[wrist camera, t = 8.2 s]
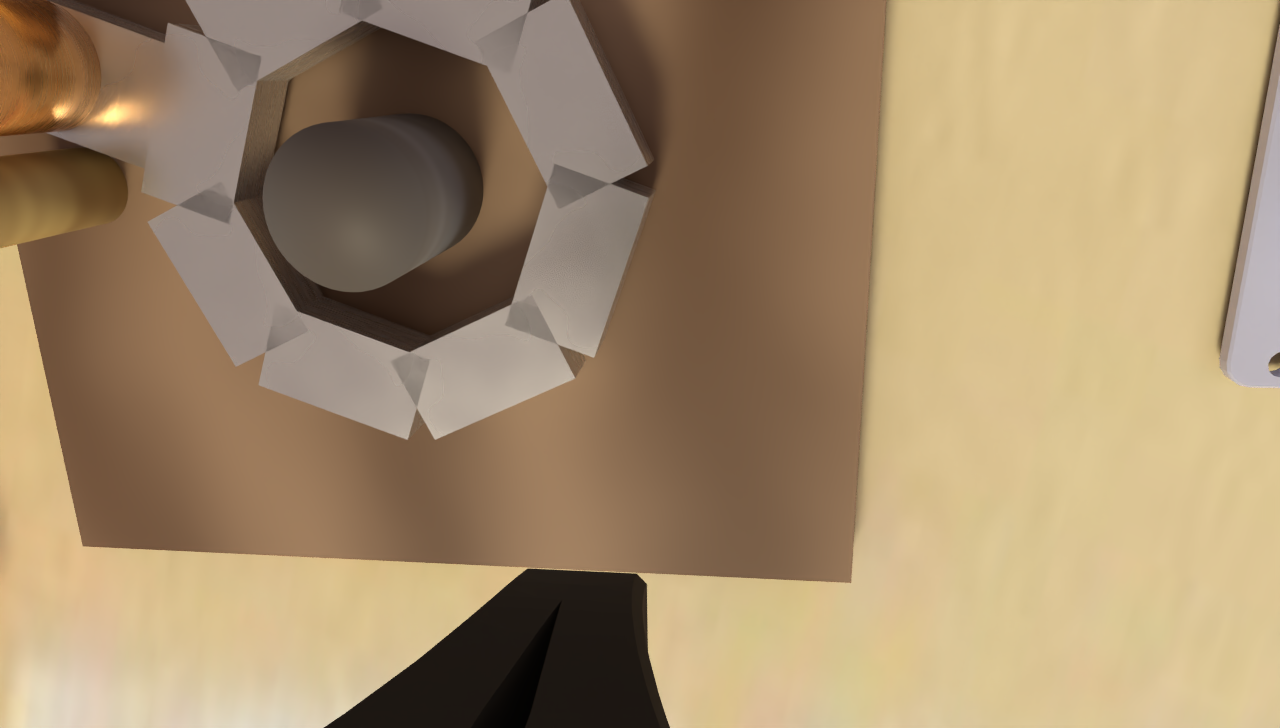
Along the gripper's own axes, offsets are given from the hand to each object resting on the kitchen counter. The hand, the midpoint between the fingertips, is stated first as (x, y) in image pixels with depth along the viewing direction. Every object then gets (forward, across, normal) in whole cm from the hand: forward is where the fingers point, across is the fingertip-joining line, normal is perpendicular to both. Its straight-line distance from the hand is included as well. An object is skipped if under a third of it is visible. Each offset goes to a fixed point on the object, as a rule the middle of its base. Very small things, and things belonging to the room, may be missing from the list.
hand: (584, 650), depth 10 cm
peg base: (+10, +5, -4) cm, 12 cm away
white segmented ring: (+9, +7, -5) cm, 12 cm away
